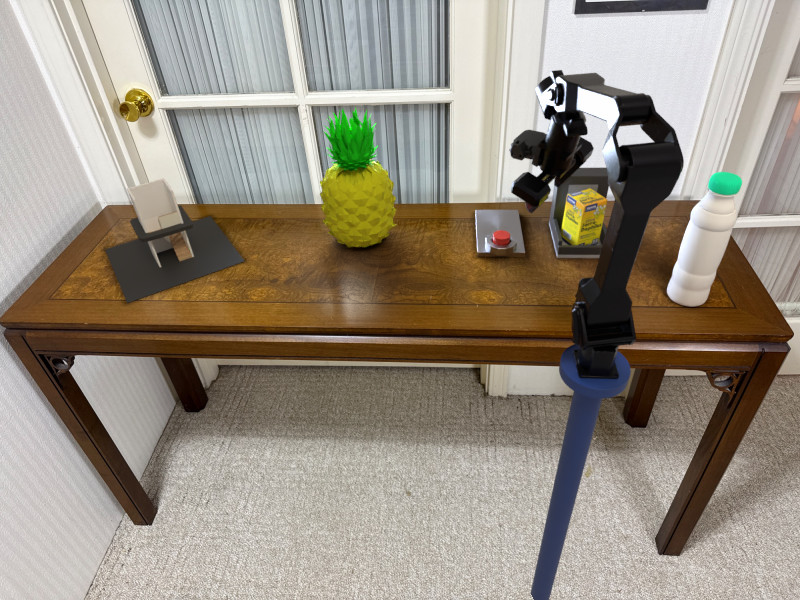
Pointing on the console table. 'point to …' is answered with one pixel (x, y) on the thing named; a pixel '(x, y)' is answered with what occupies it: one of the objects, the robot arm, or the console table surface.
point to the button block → (494, 222)
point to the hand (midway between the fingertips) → (543, 198)
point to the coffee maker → (574, 183)
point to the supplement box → (583, 217)
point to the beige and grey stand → (167, 245)
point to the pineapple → (356, 185)
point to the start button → (501, 238)
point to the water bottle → (705, 241)
